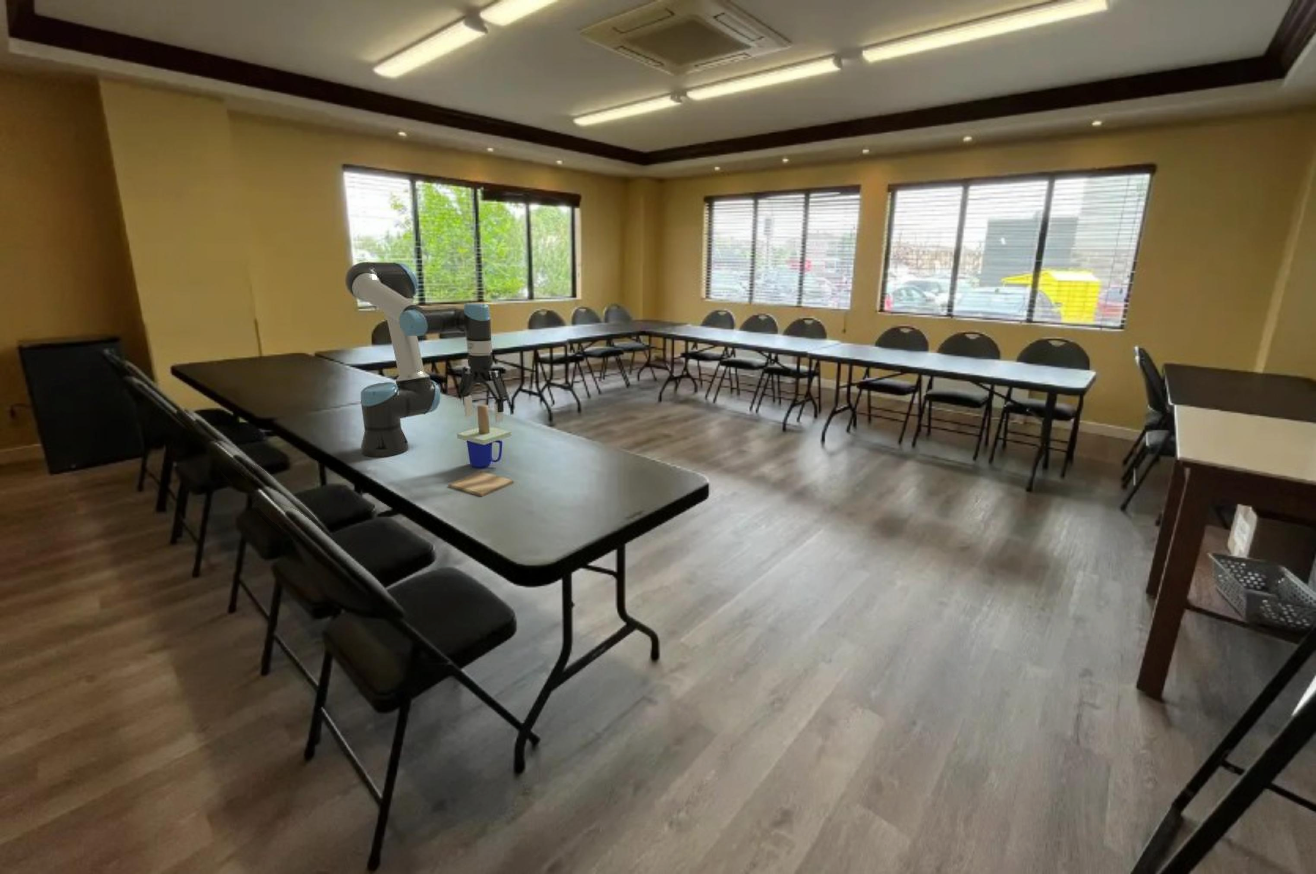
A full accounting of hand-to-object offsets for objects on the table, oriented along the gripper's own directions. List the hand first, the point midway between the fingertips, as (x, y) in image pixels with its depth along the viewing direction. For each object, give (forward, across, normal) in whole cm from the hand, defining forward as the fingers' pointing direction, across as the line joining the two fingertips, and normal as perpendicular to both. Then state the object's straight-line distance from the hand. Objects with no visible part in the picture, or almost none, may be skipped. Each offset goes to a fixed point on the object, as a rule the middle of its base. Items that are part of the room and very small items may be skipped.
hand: (483, 418), depth 187 cm
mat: (+16, +11, -13) cm, 24 cm away
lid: (+6, 0, 0) cm, 6 cm away
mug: (+16, 0, 0) cm, 17 cm away
